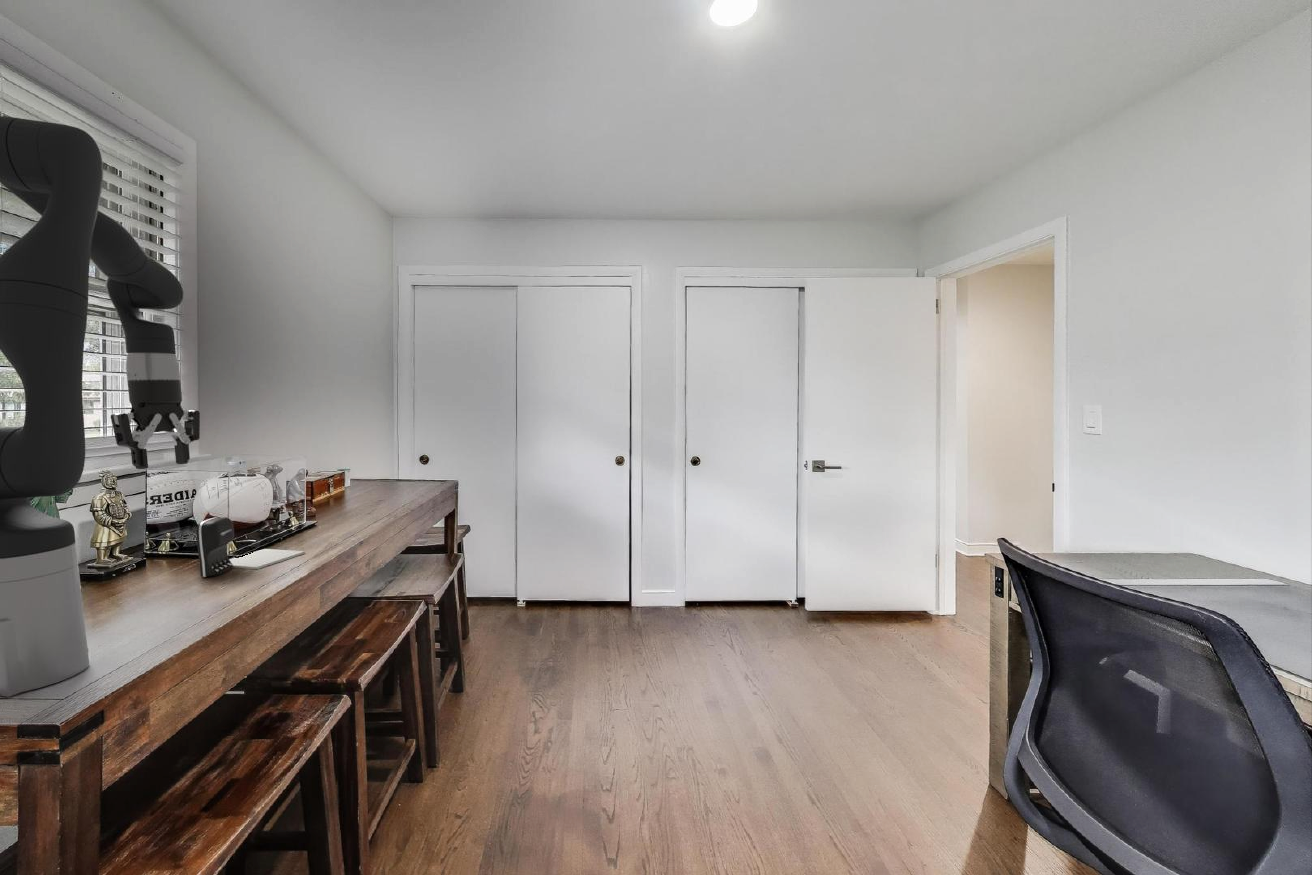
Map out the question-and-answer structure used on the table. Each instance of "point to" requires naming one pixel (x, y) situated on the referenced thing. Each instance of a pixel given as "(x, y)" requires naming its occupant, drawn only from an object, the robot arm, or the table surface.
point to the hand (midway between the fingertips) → (162, 465)
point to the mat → (263, 558)
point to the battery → (214, 545)
